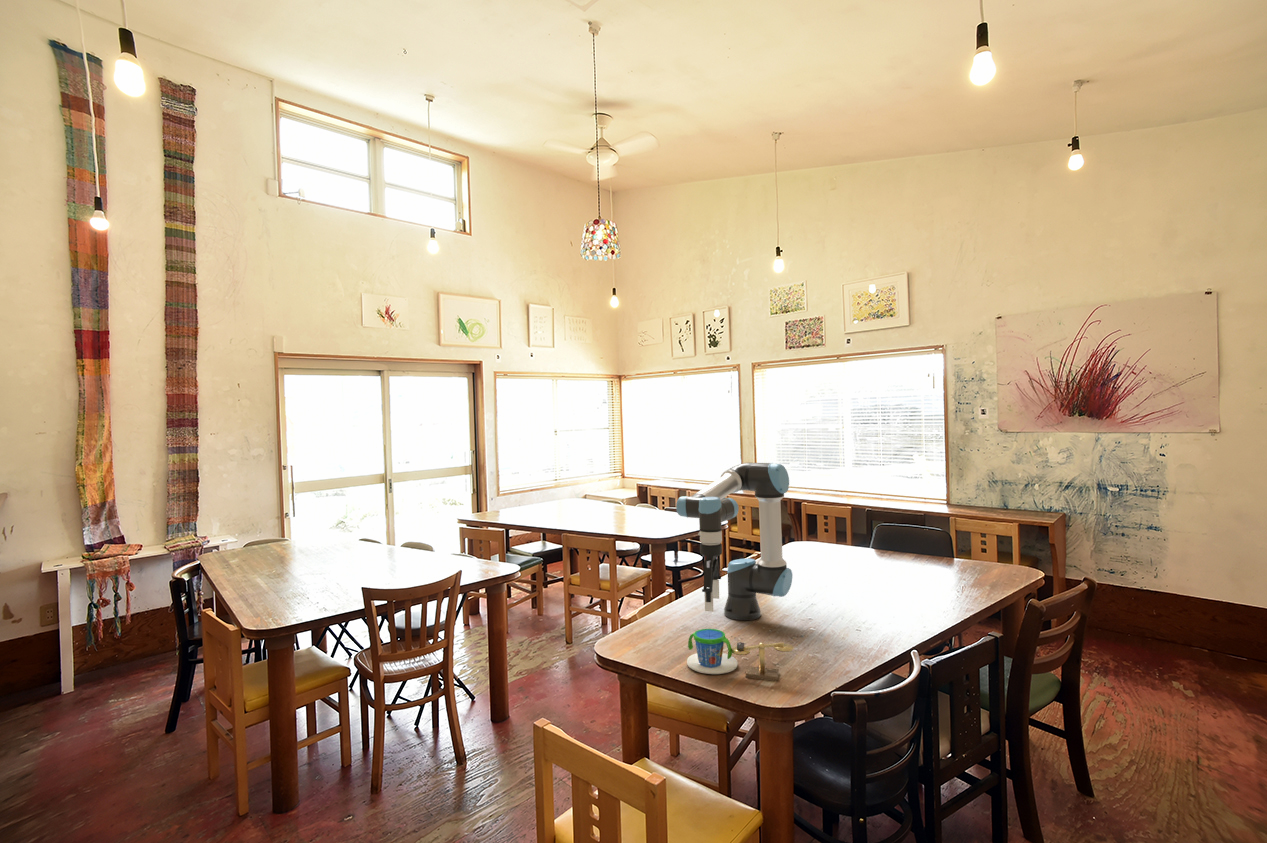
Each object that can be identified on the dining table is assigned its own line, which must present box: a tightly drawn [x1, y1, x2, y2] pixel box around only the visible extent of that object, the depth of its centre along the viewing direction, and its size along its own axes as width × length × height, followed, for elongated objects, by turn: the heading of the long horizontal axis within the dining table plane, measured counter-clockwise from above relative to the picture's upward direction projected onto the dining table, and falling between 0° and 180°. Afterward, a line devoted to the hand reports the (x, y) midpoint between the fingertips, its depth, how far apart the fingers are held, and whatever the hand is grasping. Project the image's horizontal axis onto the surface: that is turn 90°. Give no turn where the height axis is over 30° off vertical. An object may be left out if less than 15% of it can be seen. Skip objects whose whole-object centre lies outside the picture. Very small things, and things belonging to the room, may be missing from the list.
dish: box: [686, 652, 739, 675], centre depth 204 cm, size 17×17×1 cm
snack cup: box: [687, 628, 733, 668], centre depth 202 cm, size 16×10×10 cm
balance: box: [731, 641, 794, 682], centre depth 196 cm, size 6×20×11 cm, turn 73°
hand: (712, 604), depth 207 cm, fingers open, 13 cm apart
